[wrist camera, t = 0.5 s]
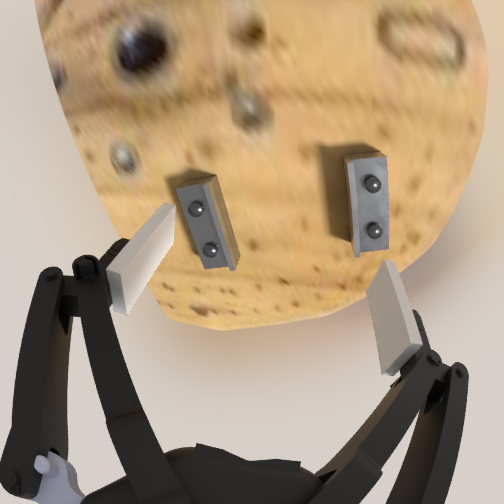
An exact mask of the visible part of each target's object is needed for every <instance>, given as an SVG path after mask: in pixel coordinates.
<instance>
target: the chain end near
mask: <svg viewBox="0 0 504 504" xmlns="http://www.w3.org/2000/svg"><path fill="white" fill-rule="evenodd" d="M343 163H344V171H345V179H346V189H347V199H348V210H349V222H350V237H351V245H352V249H353V253H354V257H355V258H357V257H360V252H369V251H377V250H386V249H389V192H388V171H387V157H386V156H385V155H384V154H383V153H382V152H381V151H379V152H367V153H356V154H346V155H343Z"/></svg>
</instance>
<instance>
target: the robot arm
mask: <svg viewBox="0 0 504 504" xmlns="http://www.w3.org/2000/svg"><path fill="white" fill-rule="evenodd" d="M175 210H176V205H172V204H168V203H163V205H162V206H161V207H160V208H159V209H158V210H157V211H156V212H155V213H154V214H153V215H152V216H151V217H150V219H149V220H148V221H147V222H146V223H145V224H144V225H143V226H142V227H141V228H140V230H139V231H138V232H137V233H136V234H135V235H134V236H133V237H132V239H131V240H128V239H125V238H122V239H120V240H118V241H116V242H115V243H114V244H113V245H112V246H111V247H110V249H108V251H107V252H106V254H104V255H103V256H102V257H101V259H100V260H98V259H97V258H96V257H95V256H92V255H83V256H80V257H78V258H77V259H75V260H74V262H73V264H72V269H73V273H74V276H64V275H63V272H62V270H61V269H60V268H58V267H48V268H46V269H44V270H43V271H42V272H41V274H40V275H39V278H38V281H37V285H36V288H35V291H34V294H33V298H32V301H31V305H30V308H29V312H28V316H27V321H26V324H25V329H24V333H23V338H22V343H21V348H20V353H19V359H18V365H17V371H16V379H15V387H14V397H13V408H12V427H11V429H10V433H9V435H8V438H7V442H6V444H5V448H4V451H3V454H2V457H1V461H0V483H1V484H2V486H3V488H4V489H5V490H6V491H7V492H8V493H10V494H12V495H14V496H17V497H20V498H24V499H28V500H32V501H36V502H37V503H39V504H359V503H360V502H361V501H362V500H363V499H364V497H365V496H366V495H367V494H368V493H369V491H370V490H371V489H372V488H373V486H374V485H375V484H376V483H377V481H378V480H379V479H380V477H381V476H382V471H381V468H382V467H383V465H384V464H385V463H386V461H387V460H388V459H389V457H390V456H391V454H392V453H393V451H394V450H395V448H396V447H397V446H398V444H399V443H400V441H401V439H402V438H403V436H404V435H405V433H406V432H407V430H408V428H409V427H410V425H411V423H412V422H413V420H414V418H415V417H416V415H417V413H418V412H419V415H418V419H417V422H416V426H415V429H414V432H413V435H412V438H411V442H410V444H409V447H408V450H407V453H406V456H405V459H404V461H403V464H402V467H401V469H400V472H399V474H398V477H397V479H396V482H395V484H394V486H393V489H392V491H391V493H390V495H389V497H388V499H387V502H386V504H444V503H445V500H446V497H447V494H448V491H449V487H450V484H451V481H452V477H453V473H454V469H455V465H456V461H457V457H458V452H459V448H460V443H461V437H462V432H463V426H464V419H465V411H466V402H467V393H468V380H469V374H468V371H467V368H466V367H465V366H464V365H463V364H462V363H459V362H455V363H454V364H453V365H452V366H451V367H450V366H448V365H446V364H443V363H442V360H441V358H440V356H439V354H438V353H436V352H435V351H434V350H431V348H430V345H429V341H428V338H427V335H426V332H425V329H424V326H423V323H422V320H421V317H420V315H419V314H418V313H417V311H416V310H412V308H411V305H410V303H409V300H408V297H407V294H406V291H405V289H404V286H403V283H402V280H401V278H400V275H399V273H398V270H397V268H396V265H395V263H394V262H393V261H390V260H386V259H384V260H383V262H382V264H381V266H380V268H379V269H378V271H377V273H376V275H375V277H374V278H373V280H372V282H371V284H370V286H369V287H368V289H367V291H366V292H367V296H368V301H369V306H370V310H371V315H372V320H373V325H374V331H375V336H376V342H377V347H378V353H379V360H380V367H381V374H382V375H389V376H394V375H395V374H396V373H397V372H398V371H399V370H400V374H401V376H400V377H399V378H398V379H397V380H396V381H395V382H394V383H393V384H392V385H391V386H390V387H391V389H390V390H389V392H388V393H387V394H386V396H385V397H384V398H383V400H382V401H381V402H380V404H379V405H378V406H377V408H376V409H375V410H374V412H373V413H372V414H371V415H370V417H369V418H368V419H367V420H366V421H365V423H364V424H363V425H362V426H361V427H360V429H359V430H358V431H357V432H356V433H355V435H354V436H353V437H352V438H351V439H350V440H349V441H348V443H346V445H345V446H344V447H343V448H342V449H341V450H340V451H339V452H338V453H337V454H336V455H335V457H334V458H332V460H331V461H330V462H329V463H327V464H326V465H325V466H324V467H323V468H322V469H320V470H319V471H317V472H316V473H315V474H313V473H311V472H310V471H308V470H307V469H304V468H303V467H300V464H301V462H300V461H290V460H281V459H269V460H257V461H248V460H245V459H243V458H240V457H238V456H236V455H234V454H231V453H229V452H227V451H225V450H223V449H219V448H215V447H210V446H206V445H203V444H198V443H197V444H196V447H183V448H178V449H174V450H171V451H168V452H166V453H163V451H162V449H161V447H160V445H159V443H158V440H157V438H156V436H155V434H154V432H153V430H152V428H151V426H150V423H149V421H148V419H147V416H146V414H145V412H144V410H143V408H142V405H141V403H140V401H139V398H138V396H137V393H136V390H135V388H134V385H133V383H132V380H131V377H130V374H129V372H128V369H127V366H126V363H125V360H124V357H123V354H122V351H121V348H120V345H119V341H118V338H117V335H116V332H115V328H114V325H113V321H112V317H111V314H110V310H109V308H110V306H111V304H113V308H114V311H115V312H118V313H121V314H124V315H126V316H127V315H128V313H129V312H130V310H131V308H132V307H133V305H134V303H135V302H136V300H137V299H138V297H139V295H140V294H141V292H142V291H143V289H144V287H145V286H146V284H147V283H148V281H149V280H150V278H151V276H152V275H153V273H154V272H155V270H156V269H157V267H158V266H159V264H160V263H161V261H162V259H163V258H164V256H165V255H166V253H167V252H168V250H169V249H170V247H171V246H172V244H173V243H174V226H175ZM73 316H74V317H81V323H82V328H83V334H84V339H85V343H86V348H87V353H88V357H89V361H90V365H91V369H92V373H93V377H94V381H95V384H96V388H97V391H98V395H99V398H100V401H101V404H102V408H103V411H104V414H105V417H106V425H107V428H108V431H109V434H110V437H111V439H112V442H113V444H114V447H115V449H116V452H117V454H118V457H119V459H120V462H121V464H122V466H123V468H124V471H125V473H126V476H124V477H122V478H120V479H119V480H117V481H115V482H113V483H111V484H109V485H107V486H105V487H103V488H101V489H98V490H96V491H94V492H92V493H90V494H89V495H87V496H85V495H84V494H83V493H82V492H81V490H80V489H79V487H78V483H77V473H76V470H75V469H74V467H73V466H72V465H71V464H70V463H69V462H68V461H67V459H68V426H67V385H68V383H67V382H68V365H69V351H70V341H71V332H72V323H73ZM419 410H420V411H419Z"/></svg>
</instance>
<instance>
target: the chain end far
mask: <svg viewBox="0 0 504 504" xmlns="http://www.w3.org/2000/svg"><path fill="white" fill-rule="evenodd" d="M176 192H177V195H178V198H179V201H180V204H181V207H182V209H183V212H184V215H185V218H186V221H187V223H188V226H189V229H190V232H191V234H192V237H193V240H194V242H195V245H196V248H197V250H198V253H199V256H200V258H201V261H202V264H203V266H204V269H210V268H220V267H229V269H230V271H234V270H235V269H236V266H237V263H238V260H239V257H240V253H239V250H238V246H237V243H236V239H235V236H234V233H233V229H232V226H231V223H230V219H229V216H228V212H227V209H226V206H225V202H224V199H223V195H222V192H221V188H220V185H219V182H218V178H217V175H214V176H209V177H205V178H200V179H195V180H191V181H187V182H183V183H182V184H181V185H180V186H179V187H178V188H177V189H176Z"/></svg>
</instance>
